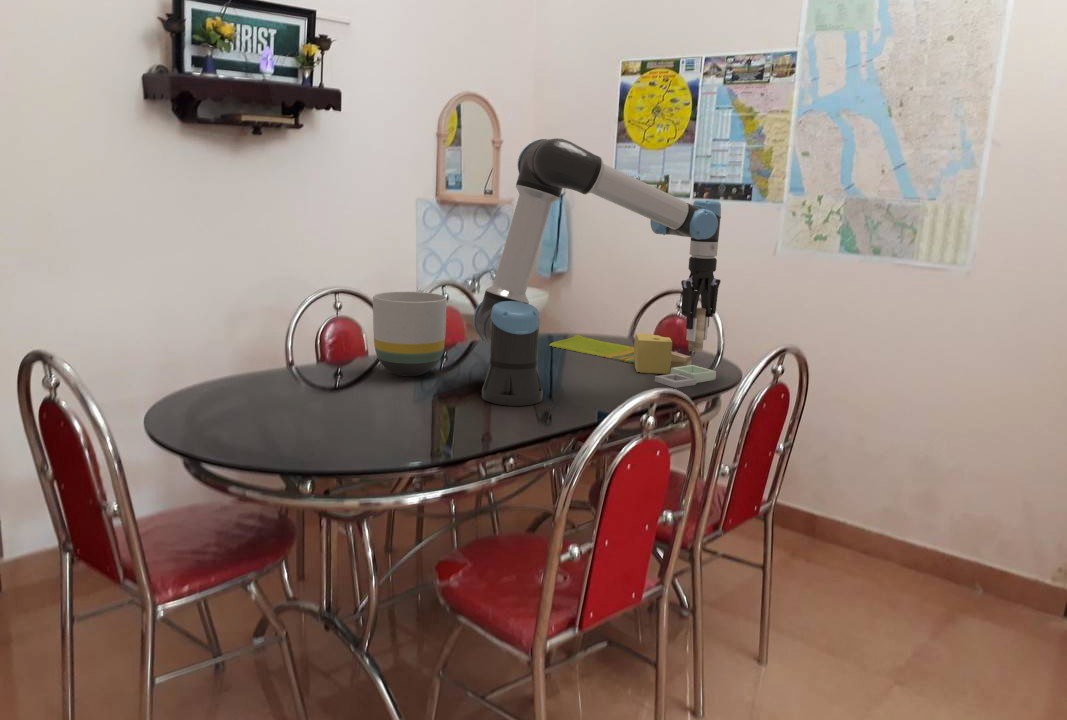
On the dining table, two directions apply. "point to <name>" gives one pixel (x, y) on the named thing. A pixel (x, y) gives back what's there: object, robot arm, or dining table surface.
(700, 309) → the dowel
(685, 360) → the stop block
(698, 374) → the tray
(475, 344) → the dining table surface
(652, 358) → the cheese
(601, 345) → the dish towel
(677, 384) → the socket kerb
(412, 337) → the planter
